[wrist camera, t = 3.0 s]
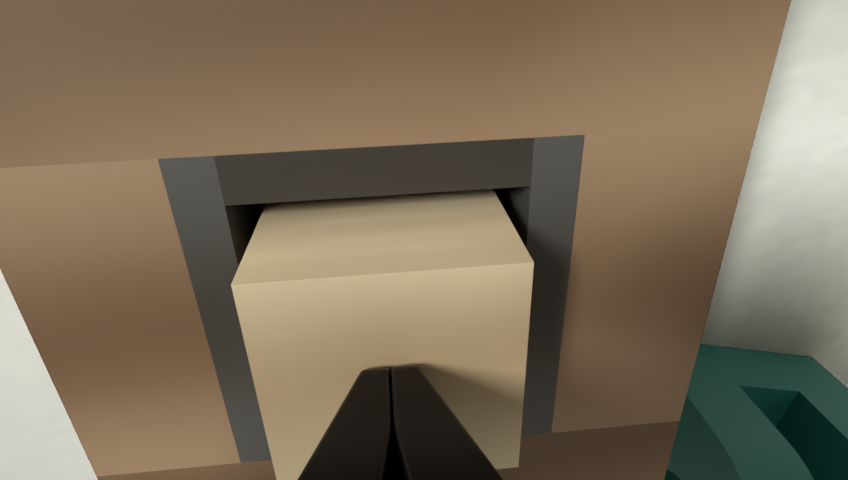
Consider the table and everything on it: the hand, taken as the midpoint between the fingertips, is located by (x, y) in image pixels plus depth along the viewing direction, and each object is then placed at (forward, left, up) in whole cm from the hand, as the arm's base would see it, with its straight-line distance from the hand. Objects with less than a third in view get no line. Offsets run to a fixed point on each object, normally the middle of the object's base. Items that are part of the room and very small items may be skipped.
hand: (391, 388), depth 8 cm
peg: (0, 0, -6) cm, 6 cm away
